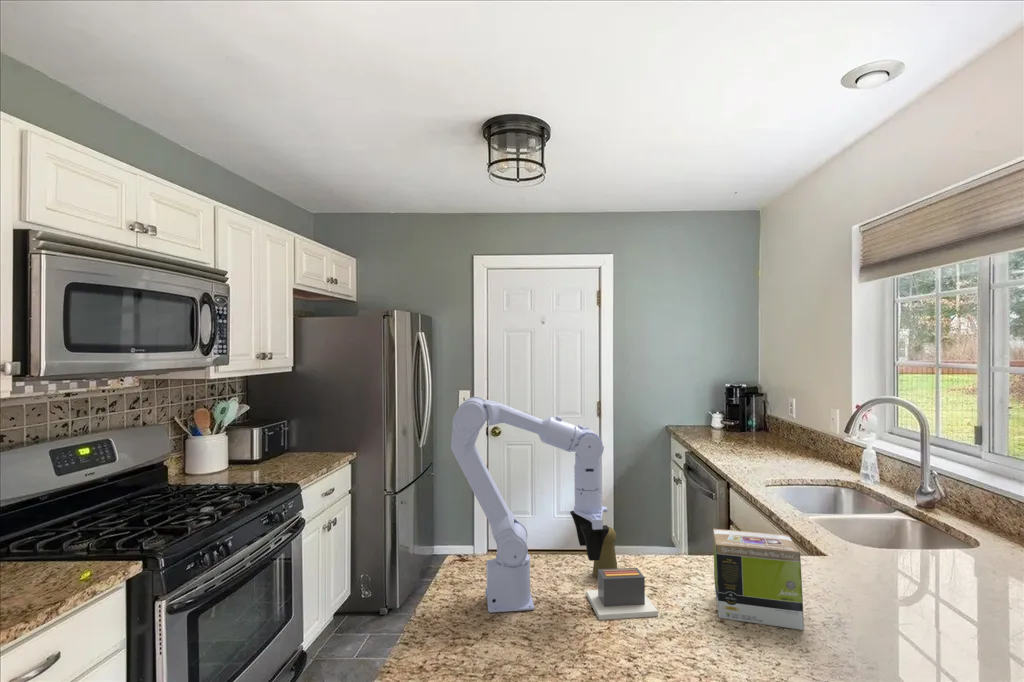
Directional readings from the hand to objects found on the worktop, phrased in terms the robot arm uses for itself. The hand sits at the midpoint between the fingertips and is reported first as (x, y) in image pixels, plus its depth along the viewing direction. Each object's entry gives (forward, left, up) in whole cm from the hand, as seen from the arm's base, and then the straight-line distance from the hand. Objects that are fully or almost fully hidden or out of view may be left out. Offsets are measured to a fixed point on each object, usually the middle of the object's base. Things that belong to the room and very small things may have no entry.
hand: (589, 552), depth 103 cm
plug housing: (+6, -2, -9) cm, 11 cm away
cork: (+7, +12, -11) cm, 17 cm away
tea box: (+32, -8, -11) cm, 35 cm away
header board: (+6, -2, -10) cm, 12 cm away
